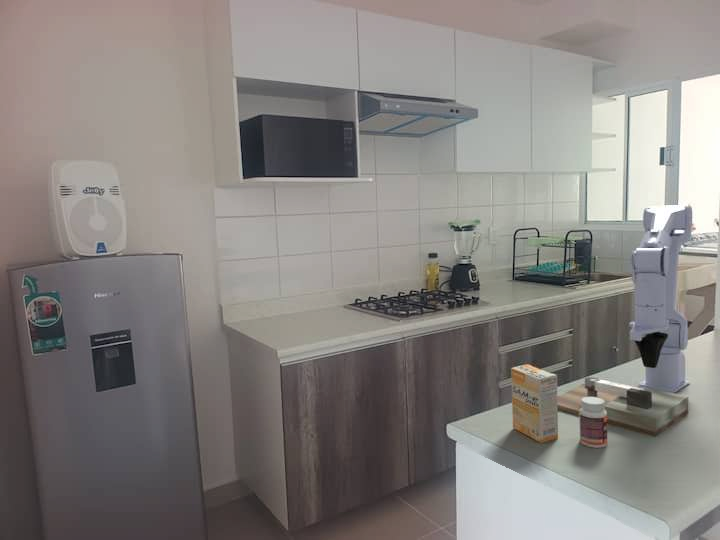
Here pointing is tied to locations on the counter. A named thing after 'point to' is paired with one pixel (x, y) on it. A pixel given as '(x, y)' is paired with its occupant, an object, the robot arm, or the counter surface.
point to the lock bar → (608, 387)
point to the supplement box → (534, 402)
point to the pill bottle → (593, 422)
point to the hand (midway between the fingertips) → (650, 366)
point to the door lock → (632, 408)
